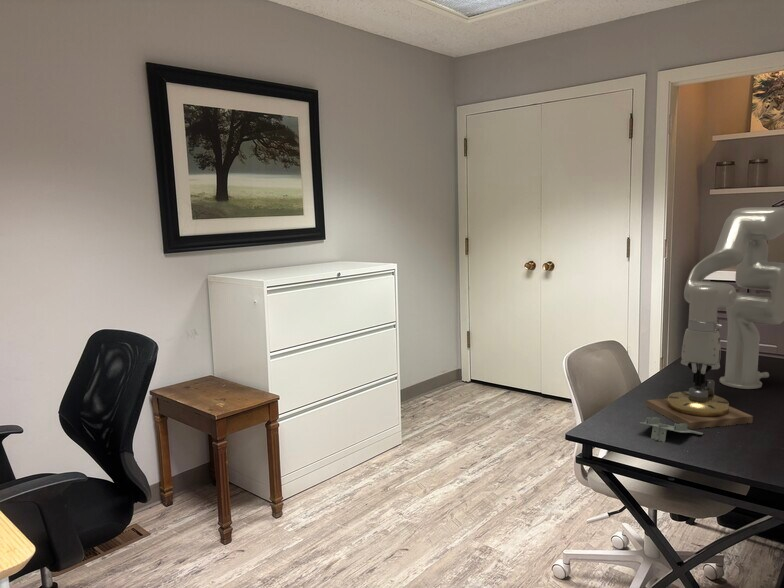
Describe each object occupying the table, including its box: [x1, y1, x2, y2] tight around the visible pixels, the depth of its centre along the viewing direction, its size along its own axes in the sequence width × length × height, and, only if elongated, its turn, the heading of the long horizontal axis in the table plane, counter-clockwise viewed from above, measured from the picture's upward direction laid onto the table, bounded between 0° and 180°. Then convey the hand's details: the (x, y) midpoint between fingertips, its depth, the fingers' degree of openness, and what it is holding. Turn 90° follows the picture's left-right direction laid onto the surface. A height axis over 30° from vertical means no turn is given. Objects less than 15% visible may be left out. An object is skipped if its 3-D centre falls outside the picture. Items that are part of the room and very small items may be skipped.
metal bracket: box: [638, 416, 704, 443], centre depth 164 cm, size 14×6×15 cm
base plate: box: [645, 397, 754, 430], centre depth 178 cm, size 20×20×2 cm
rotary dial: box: [667, 379, 730, 416], centre depth 177 cm, size 16×16×7 cm
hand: (698, 385), depth 183 cm, fingers closed
